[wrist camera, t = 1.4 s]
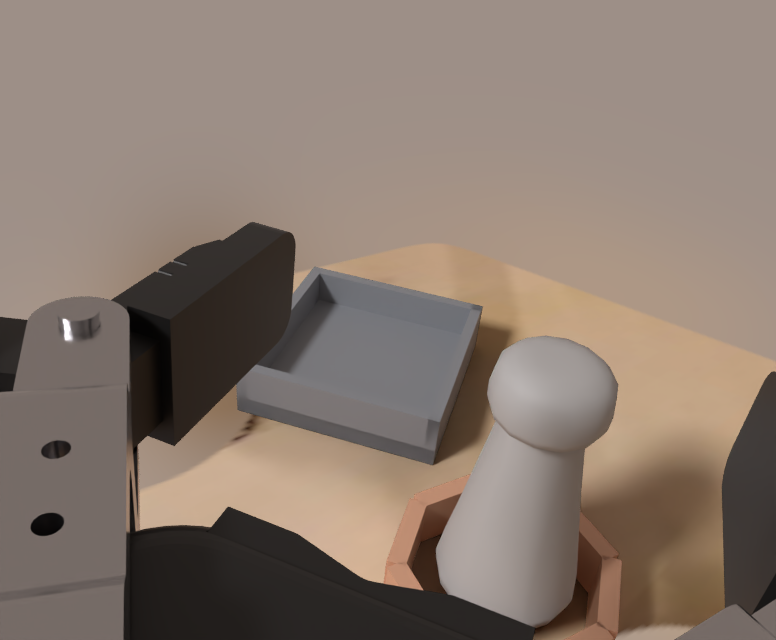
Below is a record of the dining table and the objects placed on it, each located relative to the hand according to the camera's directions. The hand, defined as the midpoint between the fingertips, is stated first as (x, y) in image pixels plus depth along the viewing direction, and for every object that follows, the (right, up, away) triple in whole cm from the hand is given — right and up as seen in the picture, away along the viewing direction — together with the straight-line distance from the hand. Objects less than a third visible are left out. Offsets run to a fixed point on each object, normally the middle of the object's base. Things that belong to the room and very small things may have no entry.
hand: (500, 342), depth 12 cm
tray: (-3, -3, +31) cm, 31 cm away
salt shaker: (+3, -12, +20) cm, 23 cm away
